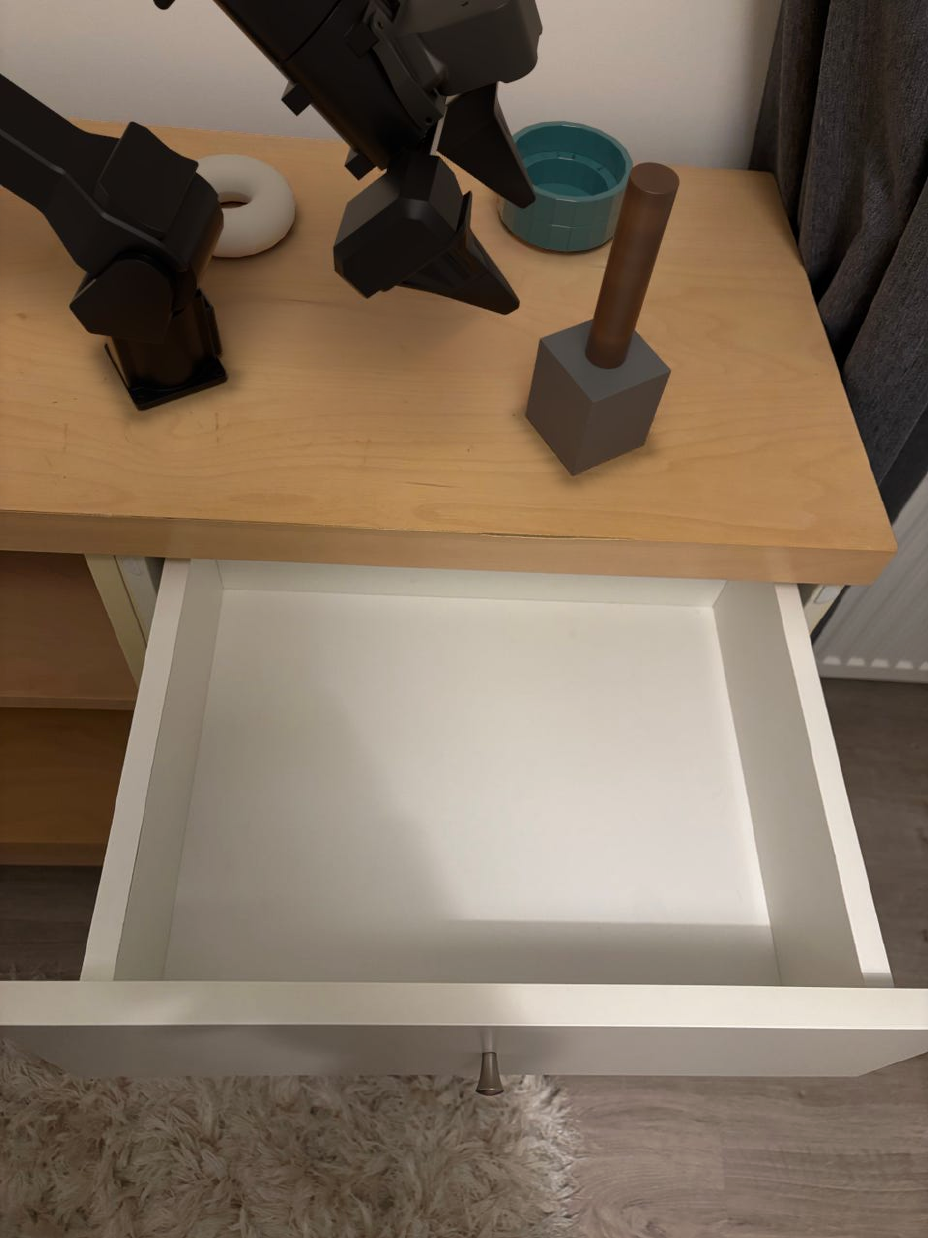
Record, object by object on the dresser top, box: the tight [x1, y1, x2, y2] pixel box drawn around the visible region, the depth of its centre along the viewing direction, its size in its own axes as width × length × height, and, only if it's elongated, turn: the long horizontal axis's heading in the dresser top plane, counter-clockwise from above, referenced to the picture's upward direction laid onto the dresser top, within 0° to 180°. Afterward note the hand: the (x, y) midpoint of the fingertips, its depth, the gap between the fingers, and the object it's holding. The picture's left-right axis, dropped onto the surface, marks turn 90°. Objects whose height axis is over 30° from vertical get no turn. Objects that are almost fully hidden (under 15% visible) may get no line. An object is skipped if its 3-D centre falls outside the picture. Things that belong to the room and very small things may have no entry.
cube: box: [524, 318, 672, 476], centre depth 59 cm, size 6×6×7 cm
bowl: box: [497, 120, 634, 253], centre depth 72 cm, size 10×10×5 cm
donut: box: [194, 153, 297, 258], centre depth 69 cm, size 10×4×10 cm
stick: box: [585, 161, 680, 369], centre depth 51 cm, size 3×3×12 cm
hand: (522, 253), depth 51 cm, fingers open, 9 cm apart
